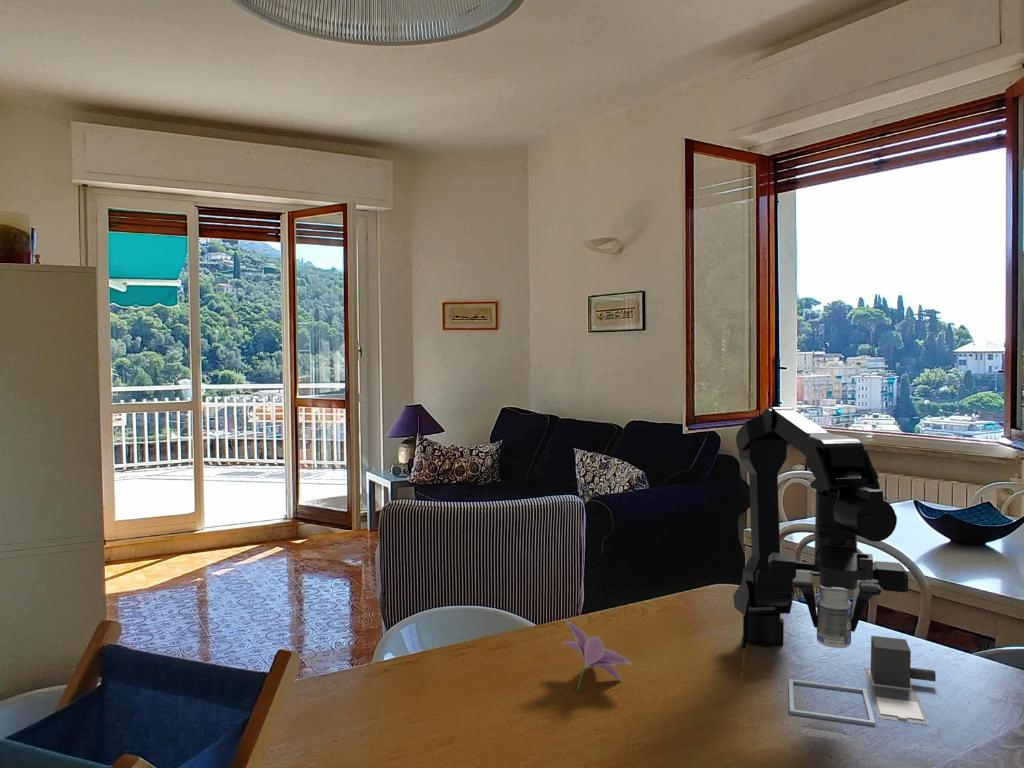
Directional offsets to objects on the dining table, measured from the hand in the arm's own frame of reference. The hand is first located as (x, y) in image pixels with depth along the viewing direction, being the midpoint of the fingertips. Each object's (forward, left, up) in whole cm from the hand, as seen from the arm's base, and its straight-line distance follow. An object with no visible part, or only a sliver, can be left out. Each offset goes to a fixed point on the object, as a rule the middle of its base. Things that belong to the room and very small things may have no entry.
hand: (833, 628), depth 115 cm
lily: (-35, -3, -12) cm, 38 cm away
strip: (+9, +6, -12) cm, 16 cm away
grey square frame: (0, 0, -12) cm, 12 cm away
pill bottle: (0, 0, -2) cm, 2 cm away
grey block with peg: (+11, +11, -11) cm, 19 cm away
